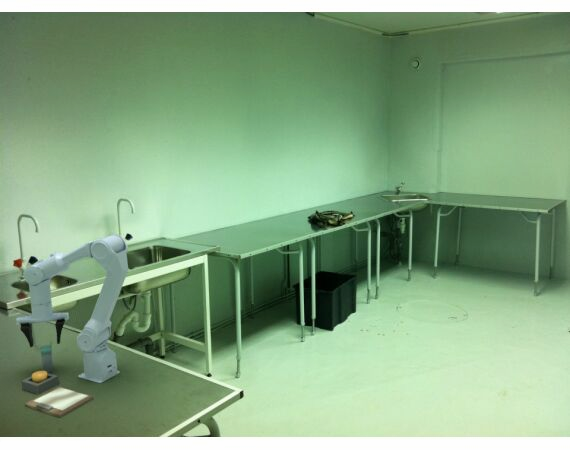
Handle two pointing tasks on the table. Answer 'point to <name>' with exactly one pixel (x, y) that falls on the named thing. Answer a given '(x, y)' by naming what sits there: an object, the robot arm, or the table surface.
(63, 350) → the table surface
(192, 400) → the table surface
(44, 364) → the marker
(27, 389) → the button base
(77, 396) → the clipboard
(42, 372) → the button
